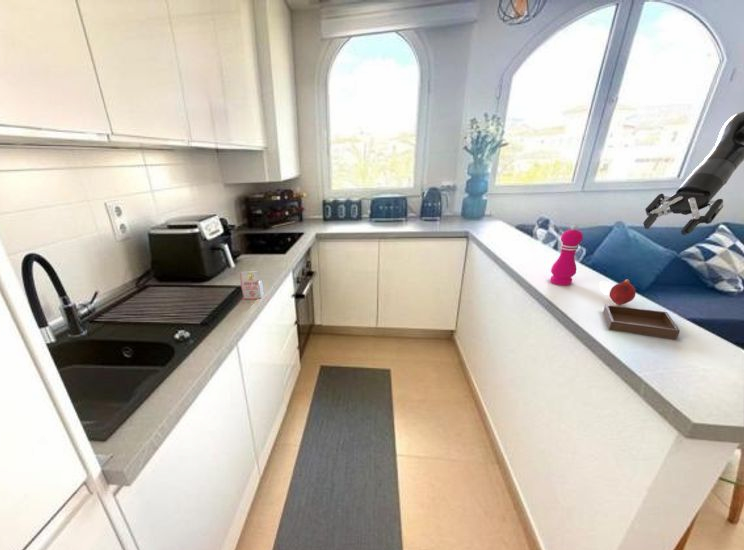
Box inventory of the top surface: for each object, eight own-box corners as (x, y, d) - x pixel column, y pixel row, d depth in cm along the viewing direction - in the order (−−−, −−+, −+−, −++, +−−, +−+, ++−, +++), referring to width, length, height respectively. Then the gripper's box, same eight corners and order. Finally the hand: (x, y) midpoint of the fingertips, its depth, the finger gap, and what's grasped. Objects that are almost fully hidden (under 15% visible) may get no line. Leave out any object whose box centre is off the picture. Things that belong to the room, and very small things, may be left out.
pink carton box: (246, 295, 129) (241, 270, 125) (263, 295, 128) (259, 269, 124) (243, 299, 126) (238, 273, 121) (261, 299, 125) (257, 273, 121)
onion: (630, 310, 99) (639, 284, 95) (605, 306, 102) (613, 280, 99) (631, 303, 102) (641, 278, 99) (607, 299, 106) (615, 275, 102)
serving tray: (663, 320, 93) (667, 311, 91) (676, 339, 84) (680, 330, 83) (602, 312, 99) (605, 304, 98) (608, 329, 90) (611, 321, 89)
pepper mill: (552, 277, 125) (565, 221, 116) (575, 281, 120) (591, 224, 111) (545, 283, 121) (558, 225, 112) (569, 287, 116) (585, 228, 107)
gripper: (671, 170, 97) (631, 217, 98) (741, 173, 85) (695, 226, 87) (675, 187, 101) (636, 232, 102) (742, 192, 89) (698, 243, 91)
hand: (663, 230), depth 95 cm, fingers open, 8 cm apart
